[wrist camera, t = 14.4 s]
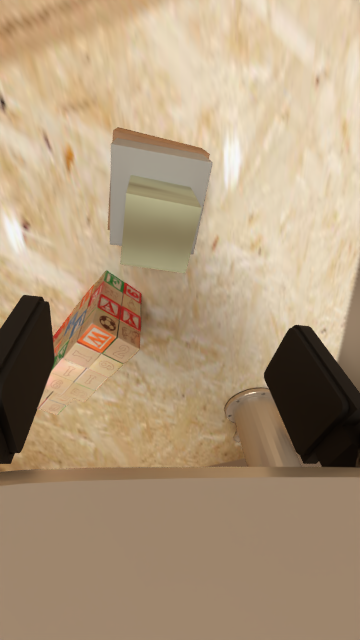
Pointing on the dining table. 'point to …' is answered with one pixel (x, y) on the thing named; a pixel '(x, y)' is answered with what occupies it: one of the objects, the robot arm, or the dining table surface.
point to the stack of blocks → (93, 342)
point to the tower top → (152, 175)
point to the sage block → (159, 225)
